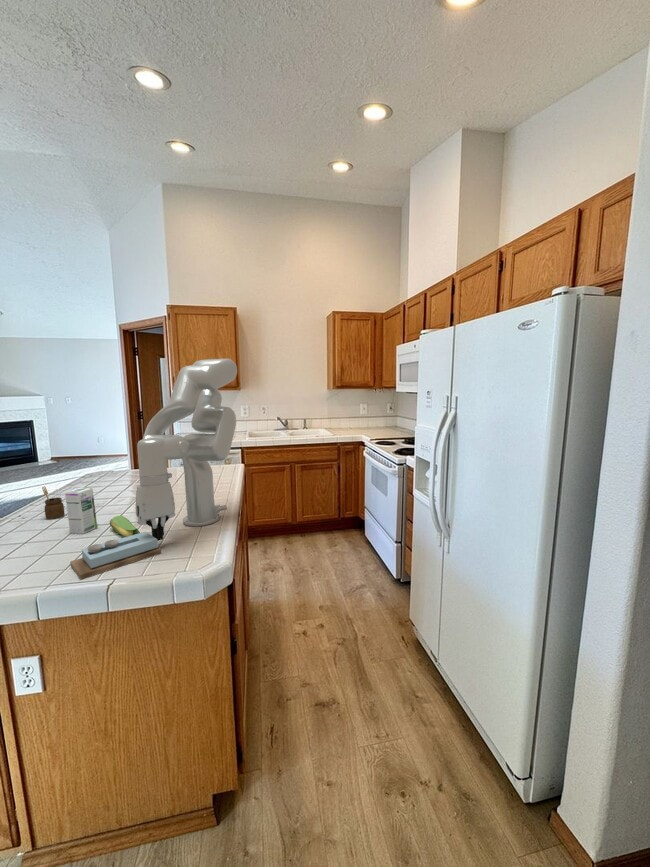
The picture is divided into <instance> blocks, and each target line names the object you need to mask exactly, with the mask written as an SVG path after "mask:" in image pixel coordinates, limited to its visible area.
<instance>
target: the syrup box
mask: <svg viewBox="0 0 650 867" xmlns="http://www.w3.org/2000/svg"><path fill="white" fill-rule="evenodd" d="M64 497H65V504H66V512H67V519H68V527H69V532H70V534H76V535H77V534H79V535H84V534H86V533H88V532H89V533H90V531H93V530H95V529H97V528H98V523H97V514H96V505H95V497H94V489H93V487H78V488H75V489H73V490H71V489H70V490H68V491H65V492H64Z"/></svg>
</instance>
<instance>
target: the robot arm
mask: <svg viewBox="0 0 650 867" xmlns="http://www.w3.org/2000/svg"><path fill="white" fill-rule="evenodd" d="M237 375H238V366H237V364H236V363H235V361H233V360H232V359H231V358H209V359H208V358H207V359H201V360H197V361H195V362H194V363H193V364H192V365H186V366H184V367H182V368H180V370H179V372H178V375H177V377H176V380H175V384H174V386H173V389H172V392H171V395H170V398H169V401H168V402H167V404H166V405H165V406H163V407H162V408H161V409H160V410H159V411H158V412H157V413H156V414H155V415H154V416H153V417H152V418H151V419H150V421H149V422H148V423H147V426H146V428H145V430H144V434H143V437H142V439H140V440H138V442H137V445H136V447H137V460H138V472H139V485H137V487H136V493H135V515H136V518H137V522H136V523H137V524H138V525H140V526H149V527H150V528H151V535H152V536H153V537H155V538H156V539H158V542H160V541H163V540H164V536H165V529H164V528H165V526H166V523H167V522H168V520H170V519H172V518H173V517H175V516H176V513H175V511H176V504H175V497H174V492H173V489H172V488H173V487H172V485H171V484H172V483H171V482H170V481H169V479H170V478H173V474H172V473H171V472H168V463H167V461H171V460H179V459H181V462H182V465H183V474H184V486H185V488H184V490H185V502H186V516H185V517H184V518H182V523H183V525H185V526H189V527H200V526H201V527H202V526H207V525H211V524H214V523H216V522H217V521H219V519H220V517H221V516H220V512H222V511H226V510H228V505H227V504H222V505H221V504H217V505H215V493H214V492H215V491H214V490H215V489H214V474H213V469H212V467H211V465H210V463H209V462H221V461H225V460H226V459H227V458H228V456H229V454H230V452H231V449H232V444H233V439H234V437H235V436H234V435H235V431H236V428H237V427H236V426H237V416H236V414H235V410H233V408H231V407H229V406H221V404H222V400H223V397H222V394H221V392H220V390H219V389H220V388H223V387H225V386H226V385H228V384H231V383H232V382H233V381H235V379H236V377H237ZM189 416H192V418H191V426H192V429H193V430H194V431H196V432H199V433H189V434H186V435H184V436H183V435H178V434H165V432H166V431H167V429H169V427H171V426H172V425H173V424H175V423H177V422H178V421H179V422H180V421H181V420H183V419H185V418H187V417H189Z"/></svg>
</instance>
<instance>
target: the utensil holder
mask: <svg viewBox="0 0 650 867" xmlns="http://www.w3.org/2000/svg"><path fill="white" fill-rule="evenodd" d="M41 489H42V492H43V494H44V496H45V497H46V498H47V499H45V500H44V504H45V505H44V516H45V519H47V520H57V519H60V518H63V517H64V516H65V506H64V505H65V504H64V503H63V502H62V501H63V499H62V498H61V493H62V492H61V490H59V489H58V488H56V489H55V490H53V491H52V492H53V497H51V498H49V496H48V495H49V492H48V490H47V486H42V487H41ZM56 495H57V497H56ZM56 518H57V519H56Z"/></svg>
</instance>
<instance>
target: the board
mask: <svg viewBox="0 0 650 867" xmlns="http://www.w3.org/2000/svg"><path fill="white" fill-rule="evenodd" d="M103 543H104V544H105V547H109V549H112V548H115V546H116V545H118V544H119V541H118V540H117V539H109V540H107V541H105V542H103ZM103 543H96V544H92V545H90V546H88V547H87V548H88V552H92V554H95V553H99V550H101V549H103V546H102V544H103ZM160 554H162V549H161V548H160V547H158V548H154V549H151V550H148V551H145V552H142V553H139V554H135V555H132V556H129V557H126V558H123V559H119V560H116V561H113V562H110V563H107V564H104V565H100V566H97V567H94V568H90V566H89V565H88V564H87V563H86V561H85V560H84V559H83V558H82V557H81V558H77V559H75V560H70V561H69V562H70V564H69V565H70V567H71V568H72V570H73V571H74V572H75V574H76V575H77V577H78V578H79V579H80V580H84V579H86V578H90V577H93V576H96V575H99V574H103V573H105V572H108V571H111V570H114V569H117V568H120V567H123V566H126V565H130V564H133V563H136V562H138V561H142V560H145V559H148V558H150V557H154V556H156V555H160ZM95 574H96V575H95ZM92 575H93V576H92Z"/></svg>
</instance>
